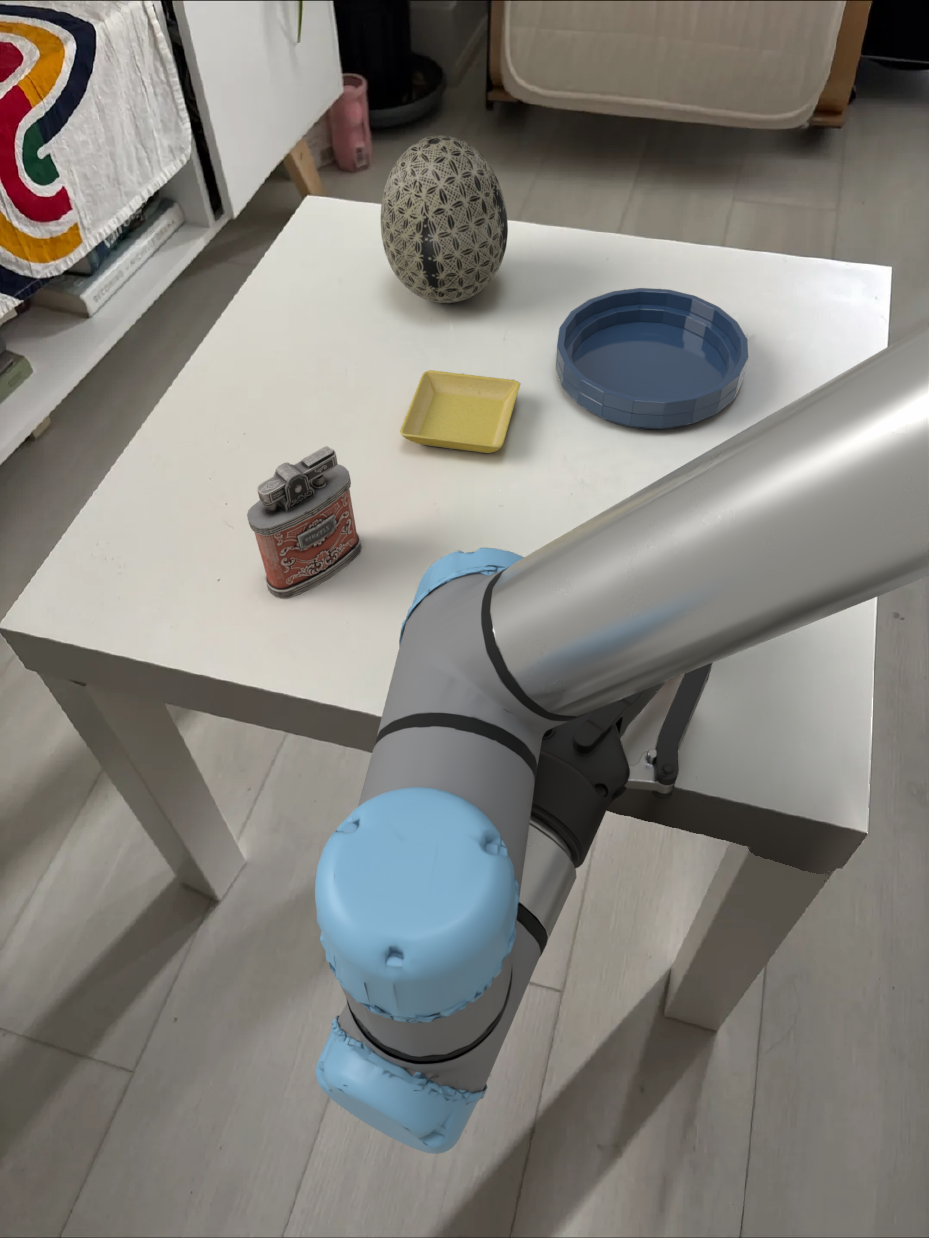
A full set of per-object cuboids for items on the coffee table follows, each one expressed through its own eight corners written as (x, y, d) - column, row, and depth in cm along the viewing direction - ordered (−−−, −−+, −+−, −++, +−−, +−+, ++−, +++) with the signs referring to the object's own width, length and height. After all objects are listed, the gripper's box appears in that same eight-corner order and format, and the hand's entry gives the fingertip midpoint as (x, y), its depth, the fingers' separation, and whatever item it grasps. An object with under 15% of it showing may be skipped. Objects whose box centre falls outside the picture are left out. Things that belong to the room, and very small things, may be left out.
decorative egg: (495, 335, 90) (494, 178, 79) (374, 323, 92) (356, 168, 80) (516, 266, 98) (519, 113, 86) (404, 256, 99) (391, 104, 87)
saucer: (501, 466, 79) (501, 447, 78) (400, 453, 81) (398, 433, 79) (521, 400, 85) (521, 380, 83) (425, 388, 86) (424, 368, 84)
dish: (761, 347, 88) (770, 313, 86) (707, 456, 79) (715, 423, 77) (595, 305, 93) (598, 272, 90) (527, 404, 84) (528, 371, 81)
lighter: (283, 606, 71) (257, 509, 63) (258, 581, 72) (228, 483, 64) (371, 551, 74) (355, 452, 66) (344, 528, 75) (326, 428, 68)
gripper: (379, 807, 58) (535, 547, 71) (664, 935, 53) (777, 628, 65) (365, 742, 52) (538, 471, 65) (685, 878, 47) (805, 553, 60)
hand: (658, 550), depth 65 cm, fingers closed on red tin, 5 cm apart
